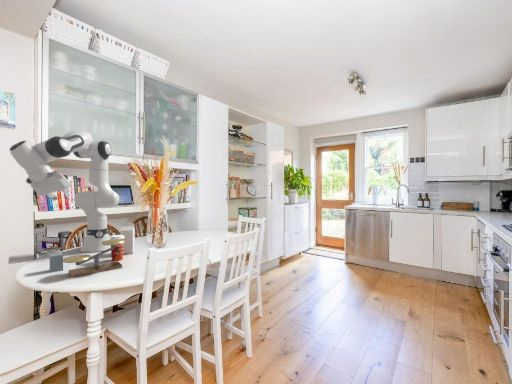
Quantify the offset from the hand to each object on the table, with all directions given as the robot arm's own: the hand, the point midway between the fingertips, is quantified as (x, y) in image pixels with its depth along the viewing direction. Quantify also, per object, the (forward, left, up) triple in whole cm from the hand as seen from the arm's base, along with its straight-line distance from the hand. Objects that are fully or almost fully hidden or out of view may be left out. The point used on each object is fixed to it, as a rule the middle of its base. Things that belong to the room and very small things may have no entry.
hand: (62, 198), depth 125 cm
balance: (+10, +13, -37) cm, 40 cm away
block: (-3, -2, -37) cm, 37 cm away
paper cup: (-3, +26, -37) cm, 45 cm away
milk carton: (-15, +35, -37) cm, 53 cm away
